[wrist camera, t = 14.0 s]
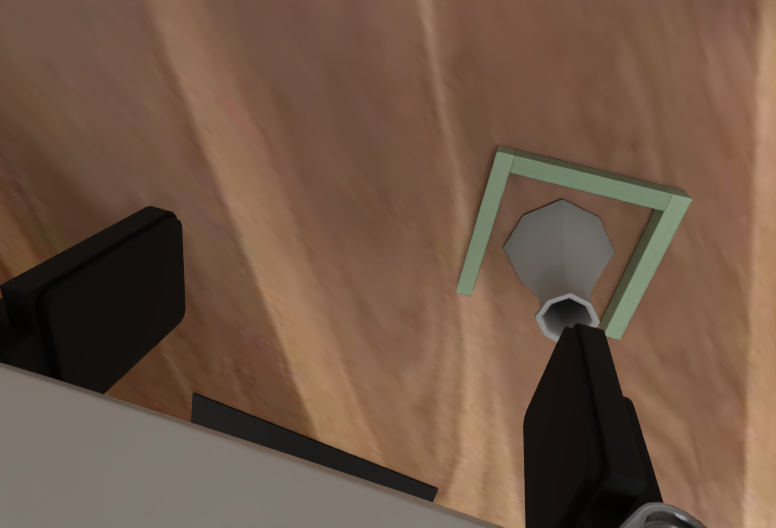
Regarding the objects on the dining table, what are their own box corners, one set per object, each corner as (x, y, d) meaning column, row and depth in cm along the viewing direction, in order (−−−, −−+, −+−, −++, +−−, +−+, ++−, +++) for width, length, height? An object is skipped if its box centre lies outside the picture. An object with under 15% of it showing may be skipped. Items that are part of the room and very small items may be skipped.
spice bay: (458, 282, 39) (455, 292, 37) (498, 145, 33) (496, 151, 32) (615, 327, 37) (619, 340, 35) (684, 190, 32) (692, 198, 30)
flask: (486, 245, 37) (473, 312, 28) (563, 180, 33) (577, 234, 24) (551, 308, 38) (558, 393, 29) (633, 251, 34) (669, 328, 25)
